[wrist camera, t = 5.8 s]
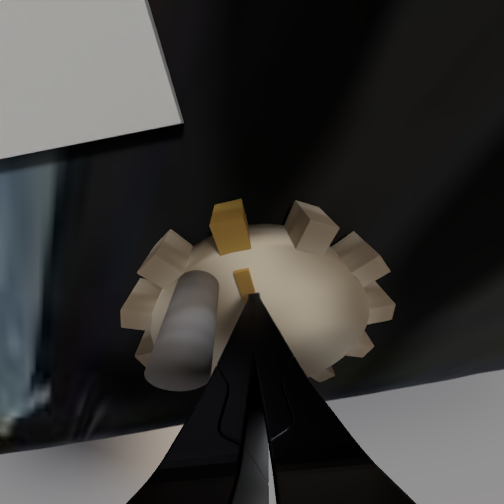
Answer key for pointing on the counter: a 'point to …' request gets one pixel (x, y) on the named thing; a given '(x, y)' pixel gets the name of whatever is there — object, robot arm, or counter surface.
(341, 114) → the counter surface
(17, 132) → the pad
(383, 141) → the counter surface
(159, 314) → the sprocket
